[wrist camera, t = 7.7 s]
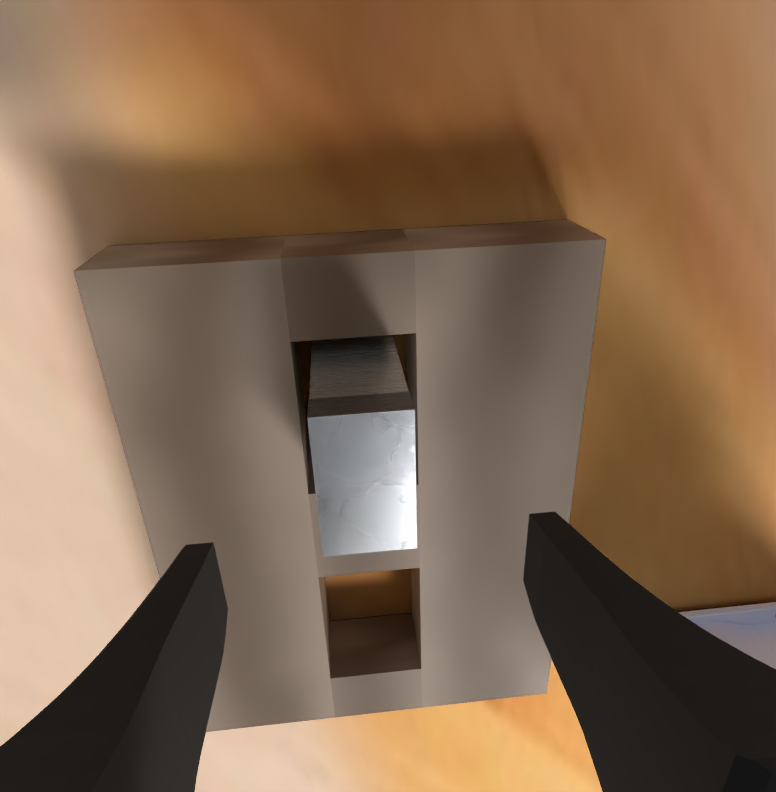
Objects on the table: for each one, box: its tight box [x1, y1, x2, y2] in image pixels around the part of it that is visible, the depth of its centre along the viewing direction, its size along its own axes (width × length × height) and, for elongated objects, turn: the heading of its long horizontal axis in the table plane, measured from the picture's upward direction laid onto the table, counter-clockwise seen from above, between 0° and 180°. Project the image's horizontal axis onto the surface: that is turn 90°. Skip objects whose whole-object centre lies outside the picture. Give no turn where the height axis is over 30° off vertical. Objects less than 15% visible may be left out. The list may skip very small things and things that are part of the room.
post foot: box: [74, 220, 606, 732], centre depth 23 cm, size 15×20×3 cm
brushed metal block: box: [307, 335, 417, 557], centre depth 19 cm, size 3×4×7 cm, turn 2°
